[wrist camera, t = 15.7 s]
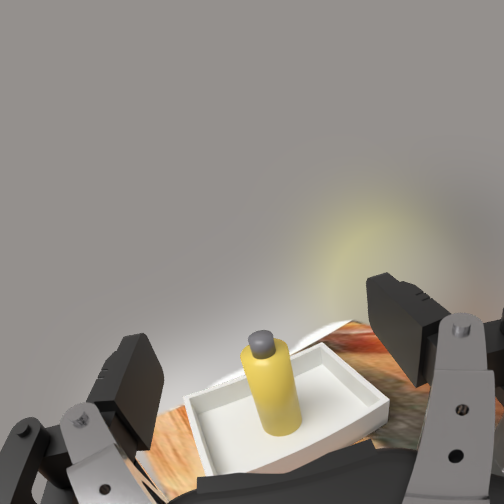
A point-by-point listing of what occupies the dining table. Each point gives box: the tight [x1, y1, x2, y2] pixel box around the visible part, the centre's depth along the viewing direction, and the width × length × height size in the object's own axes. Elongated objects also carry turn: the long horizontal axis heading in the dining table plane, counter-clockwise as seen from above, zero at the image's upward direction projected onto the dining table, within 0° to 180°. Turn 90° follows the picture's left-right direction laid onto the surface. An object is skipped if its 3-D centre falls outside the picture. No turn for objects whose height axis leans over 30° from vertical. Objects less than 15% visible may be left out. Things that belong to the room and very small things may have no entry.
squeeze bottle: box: [240, 330, 302, 437], centre depth 34 cm, size 5×5×14 cm
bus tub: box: [183, 342, 390, 476], centre depth 35 cm, size 22×16×4 cm
